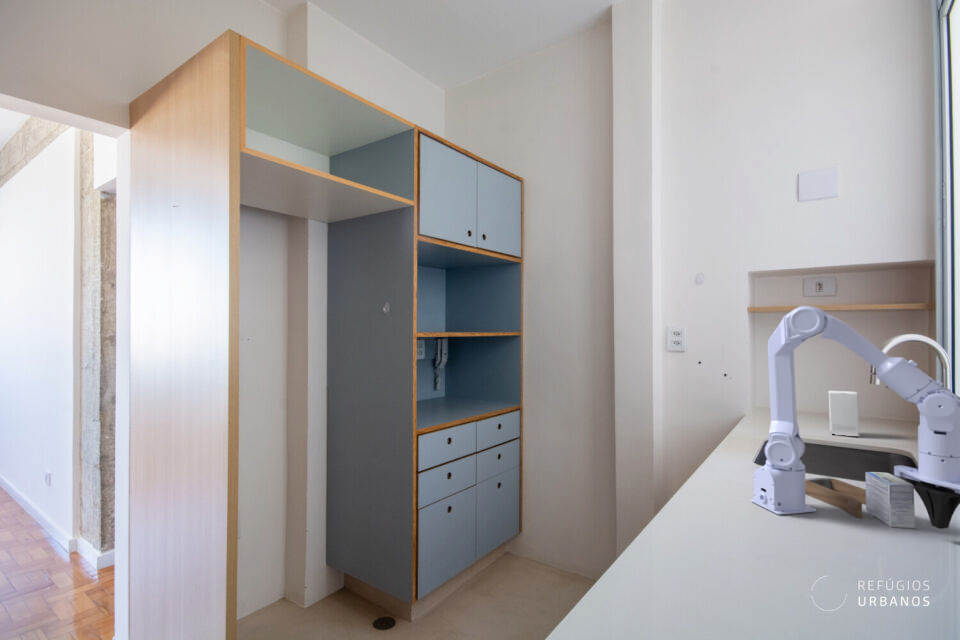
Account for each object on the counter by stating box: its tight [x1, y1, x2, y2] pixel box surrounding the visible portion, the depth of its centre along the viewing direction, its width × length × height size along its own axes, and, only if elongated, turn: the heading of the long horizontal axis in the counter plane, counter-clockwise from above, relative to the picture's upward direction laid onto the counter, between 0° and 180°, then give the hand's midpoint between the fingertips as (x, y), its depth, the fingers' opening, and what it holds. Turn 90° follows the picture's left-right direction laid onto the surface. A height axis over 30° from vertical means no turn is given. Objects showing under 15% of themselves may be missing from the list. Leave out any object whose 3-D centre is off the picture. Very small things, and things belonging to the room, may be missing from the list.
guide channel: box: [805, 476, 866, 519], centre depth 105 cm, size 11×15×3 cm
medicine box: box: [864, 471, 916, 529], centre depth 95 cm, size 8×4×9 cm, turn 168°
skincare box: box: [827, 390, 860, 434], centre depth 168 cm, size 8×7×16 cm
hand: (940, 526), depth 86 cm, fingers closed
